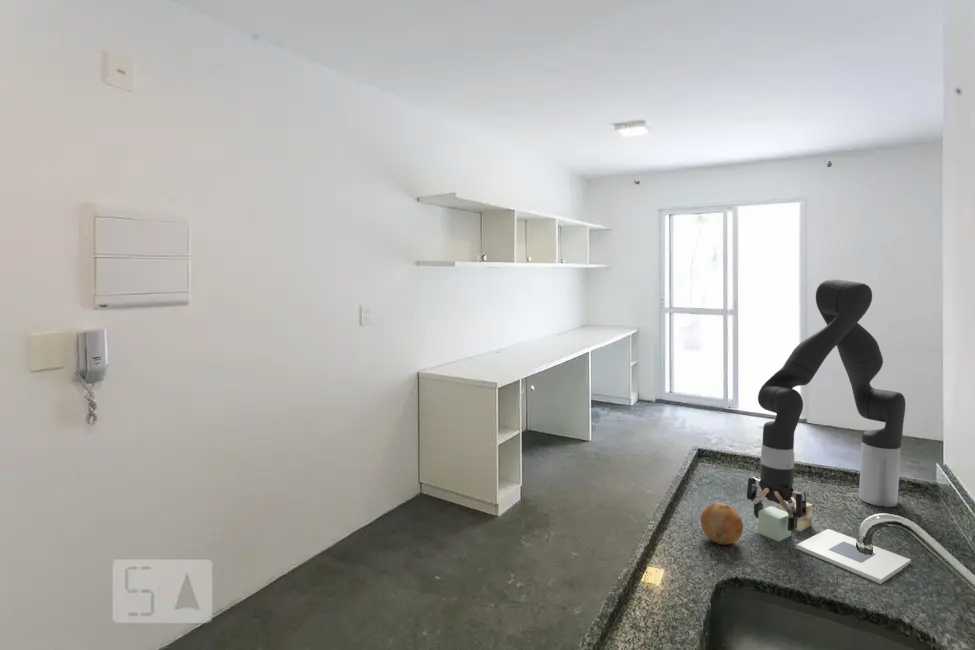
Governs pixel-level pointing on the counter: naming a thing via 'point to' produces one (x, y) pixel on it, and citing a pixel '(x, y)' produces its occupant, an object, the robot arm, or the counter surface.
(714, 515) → the onion
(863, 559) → the baseplate
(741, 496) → the counter surface
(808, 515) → the beech block
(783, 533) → the sage block
